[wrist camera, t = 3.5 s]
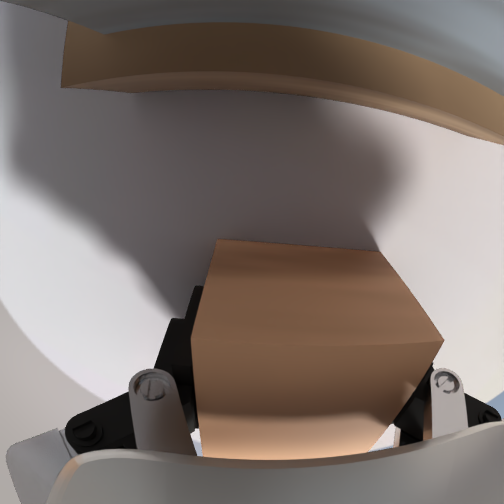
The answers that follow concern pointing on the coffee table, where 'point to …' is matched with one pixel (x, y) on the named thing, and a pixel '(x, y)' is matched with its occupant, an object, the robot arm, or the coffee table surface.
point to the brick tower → (298, 52)
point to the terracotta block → (304, 350)
